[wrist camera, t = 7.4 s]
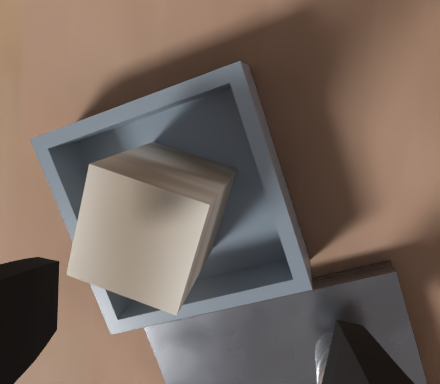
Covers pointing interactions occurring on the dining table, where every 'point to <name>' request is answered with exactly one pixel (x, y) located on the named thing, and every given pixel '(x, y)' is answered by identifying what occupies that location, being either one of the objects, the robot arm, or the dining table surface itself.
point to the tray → (211, 150)
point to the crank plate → (287, 332)
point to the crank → (322, 354)
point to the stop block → (149, 223)
